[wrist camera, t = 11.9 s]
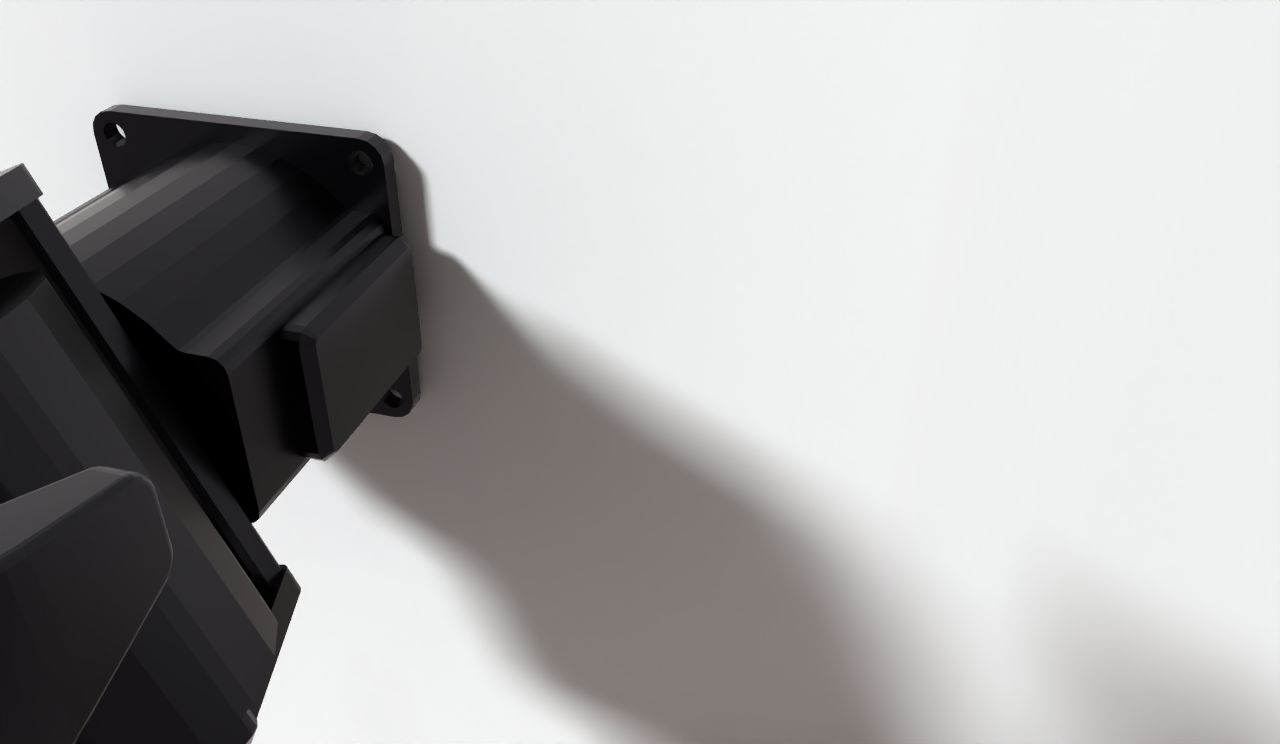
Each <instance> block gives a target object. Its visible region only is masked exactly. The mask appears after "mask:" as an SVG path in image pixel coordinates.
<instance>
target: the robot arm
mask: <svg viewBox="0 0 1280 744" xmlns="http://www.w3.org/2000/svg"><path fill="white" fill-rule="evenodd" d="M116 124H117V125H119V126H120V127H121V128H122V129H123V131H124V133H125V135H126V138H124V137H123V136H122V135H121V134H120V133H119V131H118V129H117V127H116ZM93 129H94V135H95V139H96V142H97V146H98V150H99V153H100V157H101V161H102V165H103V168H104V172H105V176H106V179H107V183H108V187H109V189H108V190H106V191H105V192H103V193H101V194H100V195H98V196H96V197H94V198H93V199H91V200H89V201H88V202H86V203H84V204H83V205H81V206H79V207H77V208H76V209H74V210H72V211H71V212H69V213H67V214H66V215H64V216H62V217H60V218H59V219H57V220H55V221H54V222H53V220H52V219H51V217H50V216H49V214H48V213H47V211H46V210H45V208H44V207H43V205H42V204H41V202H40V201H39V199H38V197H40V196H41V195H43V193H42V191H41V190H40V188H39V187H38V185H37V184H36V182H35V181H34V179H33V178H32V176H31V175H30V173H29V172H28V170H27V169H26V167H25V165H24V164H23V163H21V164H19V165H16V166H14V167H11V168H9V169H6V170H4V171H1V172H0V744H251V742H252V740H253V737H254V734H255V732H256V729H257V716H258V713H259V710H260V707H261V704H262V701H263V699H264V696H265V693H266V690H267V687H268V684H269V681H270V678H271V675H272V673H273V670H274V667H275V664H276V661H277V658H278V655H279V652H280V649H281V647H282V644H283V641H284V638H285V635H286V632H287V629H288V626H289V623H290V621H291V618H292V615H293V612H294V609H295V606H296V603H297V600H298V597H299V595H300V592H301V587H300V586H299V584H298V583H297V581H296V580H295V578H294V577H293V575H292V574H291V572H290V571H289V569H288V568H287V566H286V565H279V564H278V563H277V561H276V560H275V558H274V557H273V555H272V554H271V552H270V550H269V549H268V547H267V546H266V544H265V543H264V541H263V540H262V538H261V537H260V535H259V534H258V532H257V531H256V529H255V528H254V526H253V525H252V523H254V522H256V521H257V520H258V519H259V518H260V517H261V516H262V515H263V513H264V512H265V511H266V510H267V509H268V508H269V506H270V505H271V504H272V503H273V502H274V501H275V499H276V498H277V497H278V496H279V495H280V494H281V492H282V491H283V490H284V489H285V488H286V487H287V485H288V484H289V483H290V482H291V481H292V480H293V478H294V477H295V476H296V475H297V474H298V473H299V471H300V470H301V469H302V468H303V467H304V466H305V464H306V463H307V462H308V461H309V460H310V459H316V460H321V461H326V460H327V459H329V458H330V457H331V456H332V455H333V454H335V453H336V452H337V451H338V450H339V449H340V447H341V446H342V445H343V444H344V443H345V441H346V440H347V439H348V438H349V437H350V435H351V434H352V433H353V432H354V431H355V429H356V428H357V427H358V426H359V425H360V423H361V422H362V421H363V420H364V419H365V417H366V416H367V415H368V414H369V413H375V414H381V415H387V416H393V417H403V416H405V415H407V414H409V413H410V411H411V410H412V409H413V407H414V406H415V405H416V404H417V402H418V401H419V399H420V393H421V391H420V382H419V374H418V365H417V357H416V356H417V355H418V354H419V352H420V351H421V349H422V342H421V333H420V325H419V316H418V307H417V298H416V289H415V280H414V272H413V263H412V254H411V248H410V247H409V245H408V244H407V242H406V240H405V239H404V238H403V237H402V228H401V220H400V211H399V203H398V194H397V186H396V177H395V169H394V160H393V156H392V152H391V149H390V148H389V146H388V145H387V143H386V142H385V141H384V140H383V139H382V138H381V137H379V136H378V135H377V134H374V133H371V132H368V131H360V130H350V129H341V128H332V127H323V126H314V125H305V124H295V123H286V122H277V121H268V120H259V119H249V118H240V117H231V116H222V115H213V114H204V113H194V112H185V111H176V110H167V109H158V108H148V107H139V106H130V105H114V106H112V107H110V108H108V109H106V110H104V111H102V112H100V113H99V114H98V115H96V116H95V119H94V122H93ZM358 150H359V151H362V152H365V153H366V154H367V155H368V156H369V157H370V158H371V161H372V164H373V167H372V168H370V167H367V166H365V165H364V164H363V163H362V162H361V161H360V158H359V156H358ZM390 388H391V389H394V390H396V391H397V392H398V393H399V394H401V396H402V398H399V397H397V396H395V395H394V394H393V393H392V392H391V390H390Z"/></svg>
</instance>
